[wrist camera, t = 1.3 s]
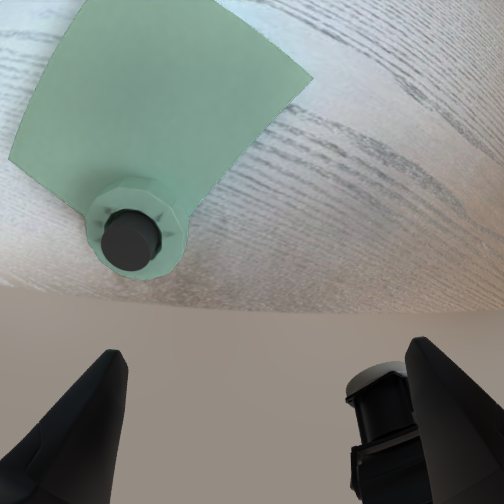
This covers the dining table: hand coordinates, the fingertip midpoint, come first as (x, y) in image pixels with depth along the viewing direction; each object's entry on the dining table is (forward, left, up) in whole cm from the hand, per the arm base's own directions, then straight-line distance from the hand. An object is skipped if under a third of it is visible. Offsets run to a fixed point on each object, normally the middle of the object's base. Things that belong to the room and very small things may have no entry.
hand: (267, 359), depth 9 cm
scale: (0, +9, -11) cm, 14 cm away
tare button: (-5, +5, -9) cm, 11 cm away
